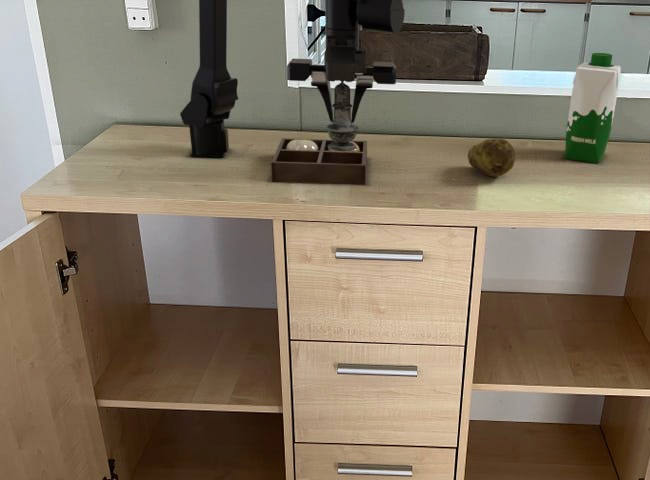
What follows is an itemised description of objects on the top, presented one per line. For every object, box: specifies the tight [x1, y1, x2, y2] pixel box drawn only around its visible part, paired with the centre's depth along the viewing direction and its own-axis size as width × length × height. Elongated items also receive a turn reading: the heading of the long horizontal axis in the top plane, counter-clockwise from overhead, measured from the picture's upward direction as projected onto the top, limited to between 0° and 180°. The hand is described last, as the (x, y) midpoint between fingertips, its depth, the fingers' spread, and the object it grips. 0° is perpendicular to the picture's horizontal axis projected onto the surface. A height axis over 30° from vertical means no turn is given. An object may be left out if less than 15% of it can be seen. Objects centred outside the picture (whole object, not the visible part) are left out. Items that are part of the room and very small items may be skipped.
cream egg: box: [286, 140, 319, 151], centre depth 147 cm, size 6×4×4 cm
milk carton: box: [564, 52, 622, 164], centre depth 154 cm, size 9×9×20 cm
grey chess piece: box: [325, 81, 359, 151], centre depth 136 cm, size 6×6×12 cm
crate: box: [270, 137, 368, 185], centre depth 144 cm, size 17×17×4 cm
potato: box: [467, 137, 517, 178], centre depth 143 cm, size 8×13×8 cm, turn 179°
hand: (342, 121), depth 137 cm, fingers closed on grey chess piece, 3 cm apart
